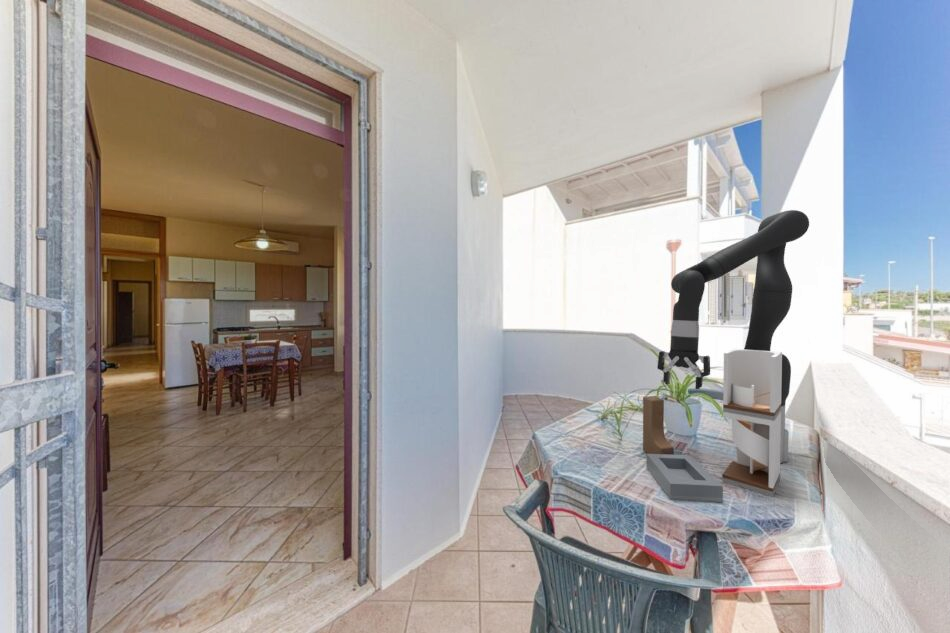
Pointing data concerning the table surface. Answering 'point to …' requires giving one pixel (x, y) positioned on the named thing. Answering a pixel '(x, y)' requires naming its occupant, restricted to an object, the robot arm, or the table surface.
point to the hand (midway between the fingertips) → (681, 386)
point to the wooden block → (654, 427)
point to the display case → (754, 417)
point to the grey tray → (684, 478)
